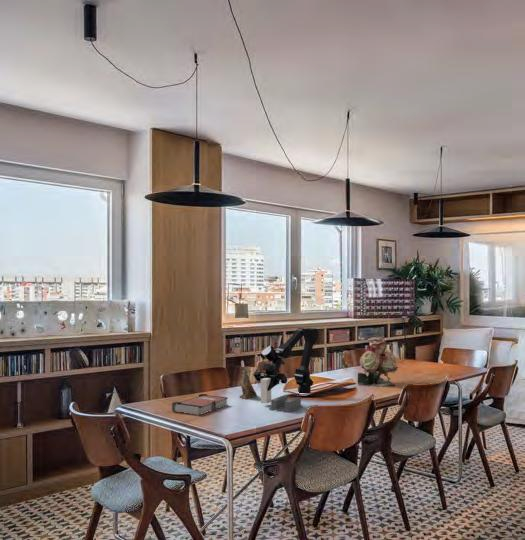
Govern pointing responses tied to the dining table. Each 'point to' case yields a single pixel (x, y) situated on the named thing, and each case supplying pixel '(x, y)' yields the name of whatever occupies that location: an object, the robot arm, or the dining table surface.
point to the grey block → (265, 390)
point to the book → (200, 404)
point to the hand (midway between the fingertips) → (264, 390)
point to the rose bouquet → (376, 364)
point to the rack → (285, 404)
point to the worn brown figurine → (247, 387)
